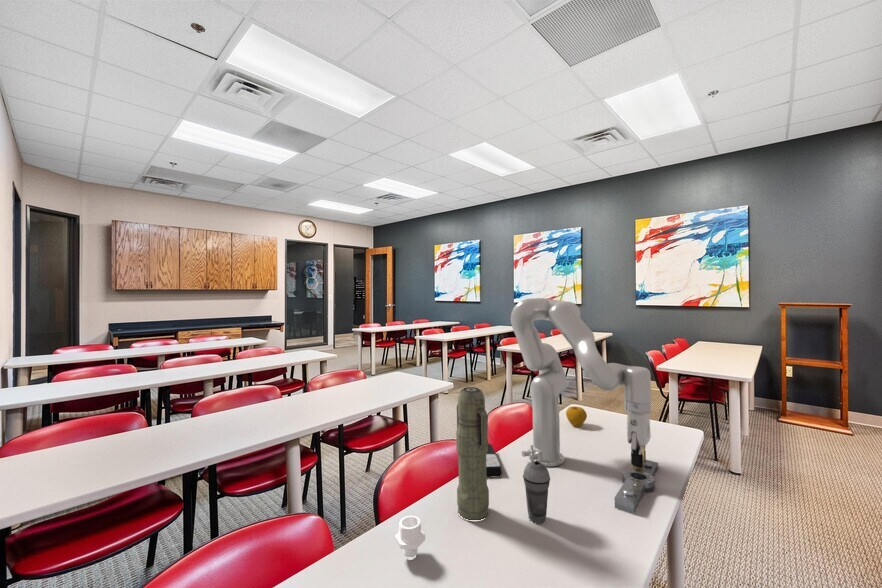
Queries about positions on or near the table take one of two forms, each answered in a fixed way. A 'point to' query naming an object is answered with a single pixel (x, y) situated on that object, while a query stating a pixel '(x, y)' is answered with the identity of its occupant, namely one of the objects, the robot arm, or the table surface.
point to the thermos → (472, 454)
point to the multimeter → (492, 463)
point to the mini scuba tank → (536, 490)
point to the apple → (576, 416)
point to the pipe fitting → (410, 535)
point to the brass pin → (642, 470)
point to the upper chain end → (632, 490)
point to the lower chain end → (651, 469)
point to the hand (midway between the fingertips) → (638, 463)
